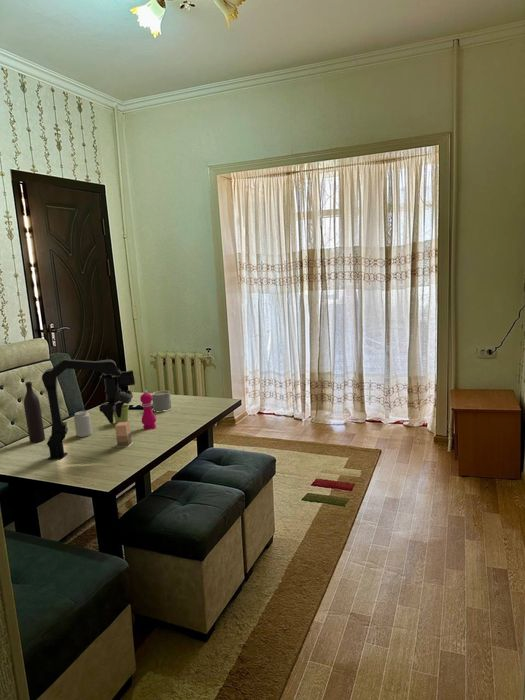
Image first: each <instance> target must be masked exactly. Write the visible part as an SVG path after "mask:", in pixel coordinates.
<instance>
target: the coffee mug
mask: <svg viewBox="0 0 525 700" xmlns="http://www.w3.org/2000/svg"><path fill="white" fill-rule="evenodd" d="M151 395H152V401H151V402H152V405H151V408H153V411H154V410H155V411H163V410H168V409H170V408H171V409H172V403H171V392H170V391H169V390H158V391H154V392H152V394H151Z"/></svg>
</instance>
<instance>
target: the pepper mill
mask: <svg viewBox="0 0 525 700" xmlns="http://www.w3.org/2000/svg"><path fill="white" fill-rule="evenodd" d="M139 398H140V399H139V401H140V402H141V406H142V408H143V413H142V416H141V423H142V424H143V430H146V431H147V430H155V429H156V428H157V424H156V421H157V417H156V414H155V413H154V411H153V409H152V408H153V407H151V405H152V403H153V401H152V394H151V393H148V390H144V391H143V393H142V394H141V395H140V397H139ZM154 428H155V429H154Z"/></svg>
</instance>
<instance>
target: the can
mask: <svg viewBox="0 0 525 700" xmlns="http://www.w3.org/2000/svg"><path fill="white" fill-rule="evenodd" d="M90 416H91V413H89V412H88V410H81V411H77V412H74V416H73V421H74V427H75V433H76V434H75V435H76V436H77V437H78V438H86V437H89V436H91V435H90V434H92V432H93V430H92V423H91V417H90Z"/></svg>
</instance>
